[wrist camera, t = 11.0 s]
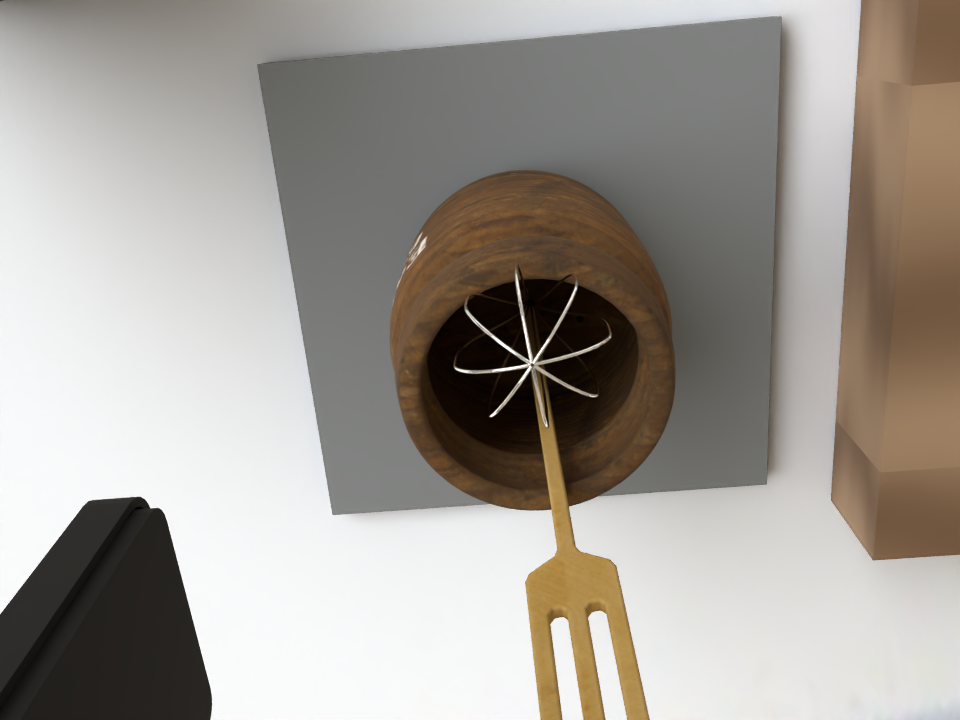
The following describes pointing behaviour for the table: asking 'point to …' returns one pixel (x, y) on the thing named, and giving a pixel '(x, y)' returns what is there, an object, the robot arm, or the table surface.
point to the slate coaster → (551, 148)
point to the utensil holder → (538, 383)
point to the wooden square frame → (902, 287)
